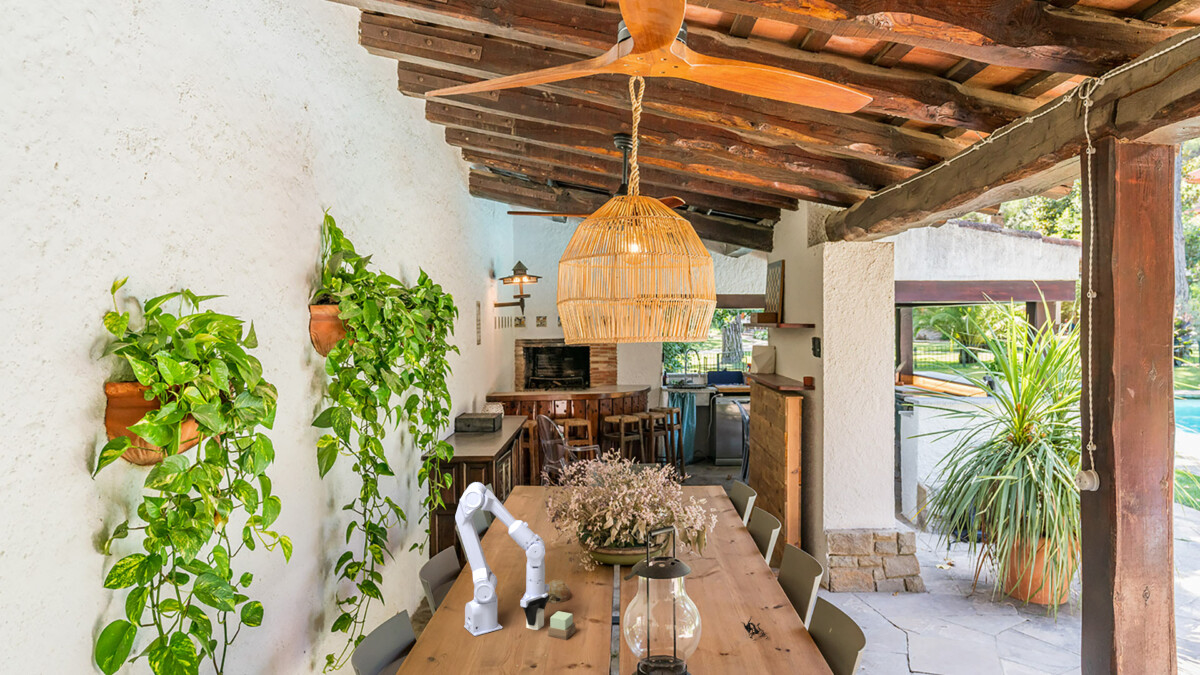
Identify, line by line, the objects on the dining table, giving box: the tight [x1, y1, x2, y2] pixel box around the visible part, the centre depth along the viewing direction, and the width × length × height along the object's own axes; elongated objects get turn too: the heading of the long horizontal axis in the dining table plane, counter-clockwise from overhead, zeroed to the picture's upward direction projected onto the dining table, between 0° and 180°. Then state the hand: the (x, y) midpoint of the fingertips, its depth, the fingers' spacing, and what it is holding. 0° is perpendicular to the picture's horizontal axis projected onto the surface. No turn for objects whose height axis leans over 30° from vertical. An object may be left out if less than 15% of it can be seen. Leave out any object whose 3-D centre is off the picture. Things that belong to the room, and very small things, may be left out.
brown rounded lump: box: [546, 578, 571, 604], centre depth 227 cm, size 10×10×8 cm
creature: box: [741, 617, 769, 640], centre depth 198 cm, size 8×5×8 cm
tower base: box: [547, 622, 576, 641], centre depth 199 cm, size 6×6×3 cm
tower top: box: [549, 610, 574, 630], centre depth 199 cm, size 5×5×3 cm
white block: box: [525, 608, 545, 631], centre depth 204 cm, size 4×4×5 cm
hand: (535, 621), depth 204 cm, fingers closed on white block, 4 cm apart
